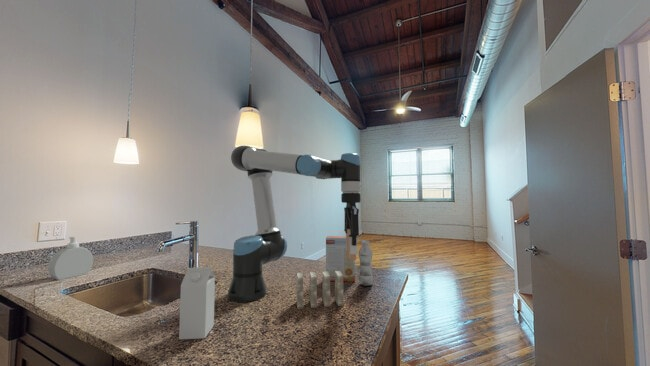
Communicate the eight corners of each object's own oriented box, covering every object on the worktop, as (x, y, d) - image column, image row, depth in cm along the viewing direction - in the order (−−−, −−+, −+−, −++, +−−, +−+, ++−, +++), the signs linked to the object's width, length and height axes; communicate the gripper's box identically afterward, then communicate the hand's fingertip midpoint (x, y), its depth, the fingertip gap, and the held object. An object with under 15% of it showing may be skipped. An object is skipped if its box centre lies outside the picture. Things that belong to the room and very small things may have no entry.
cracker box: (354, 278, 125) (354, 235, 126) (355, 282, 118) (354, 237, 120) (326, 277, 126) (326, 235, 127) (325, 281, 120) (325, 237, 121)
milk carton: (190, 327, 78) (192, 264, 79) (213, 326, 78) (215, 264, 79) (178, 340, 70) (181, 271, 72) (204, 339, 71) (206, 270, 72)
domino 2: (311, 307, 91) (311, 277, 92) (309, 301, 97) (309, 272, 98) (316, 307, 91) (316, 276, 92) (314, 300, 97) (314, 272, 98)
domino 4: (338, 306, 93) (337, 275, 93) (335, 299, 98) (335, 271, 99) (343, 305, 93) (343, 275, 93) (340, 299, 99) (339, 270, 99)
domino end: (350, 260, 94) (350, 230, 95) (347, 256, 100) (347, 228, 101) (356, 260, 94) (355, 230, 95) (352, 256, 100) (351, 228, 101)
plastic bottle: (374, 283, 116) (374, 240, 118) (371, 288, 110) (370, 242, 112) (361, 281, 119) (360, 239, 120) (357, 286, 113) (356, 241, 114)
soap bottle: (86, 271, 137) (88, 234, 138) (93, 272, 135) (94, 235, 136) (46, 280, 122) (49, 239, 123) (52, 281, 120) (55, 239, 121)
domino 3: (324, 306, 92) (324, 276, 92) (322, 300, 98) (322, 271, 98) (330, 306, 92) (330, 276, 93) (327, 300, 98) (327, 271, 99)
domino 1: (297, 308, 90) (297, 277, 91) (296, 301, 96) (297, 272, 97) (302, 308, 91) (303, 277, 91) (302, 301, 97) (302, 272, 97)
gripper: (367, 192, 90) (368, 257, 88) (354, 193, 109) (354, 247, 107) (346, 192, 89) (347, 258, 87) (337, 193, 108) (337, 247, 106)
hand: (351, 251), depth 97 cm, fingers closed on domino end, 6 cm apart
